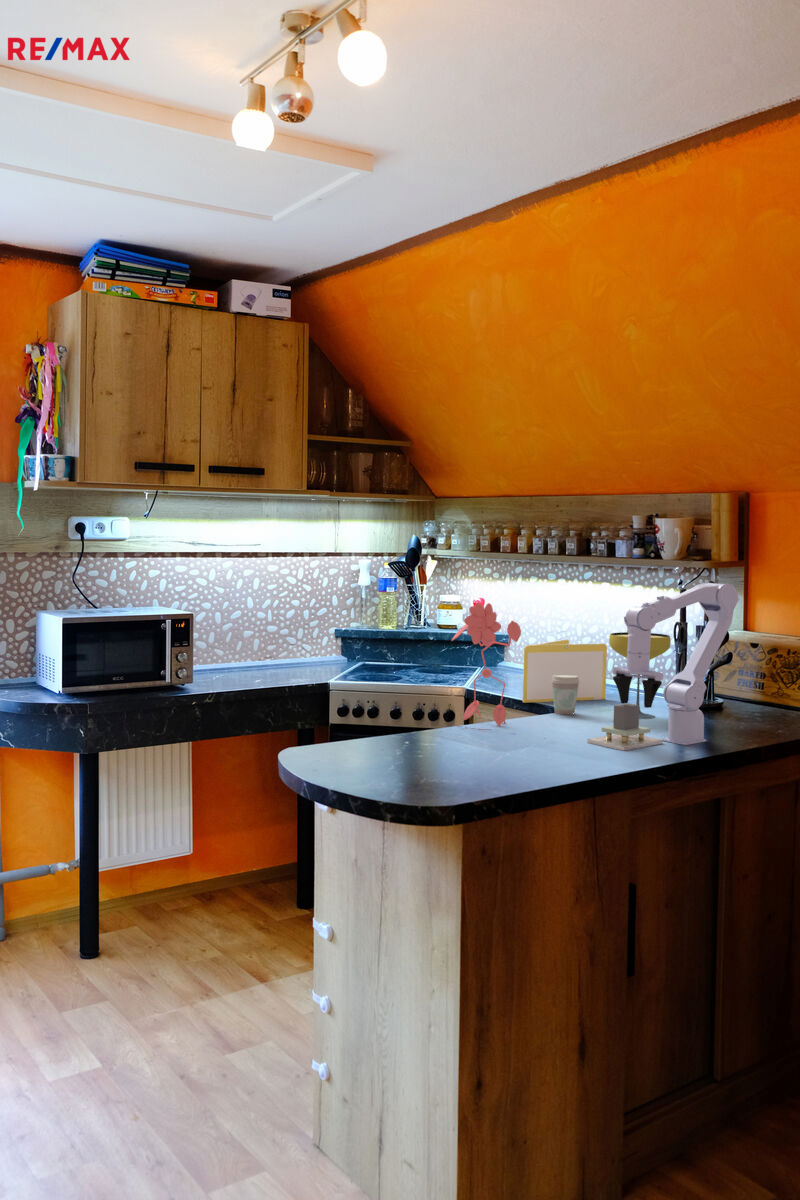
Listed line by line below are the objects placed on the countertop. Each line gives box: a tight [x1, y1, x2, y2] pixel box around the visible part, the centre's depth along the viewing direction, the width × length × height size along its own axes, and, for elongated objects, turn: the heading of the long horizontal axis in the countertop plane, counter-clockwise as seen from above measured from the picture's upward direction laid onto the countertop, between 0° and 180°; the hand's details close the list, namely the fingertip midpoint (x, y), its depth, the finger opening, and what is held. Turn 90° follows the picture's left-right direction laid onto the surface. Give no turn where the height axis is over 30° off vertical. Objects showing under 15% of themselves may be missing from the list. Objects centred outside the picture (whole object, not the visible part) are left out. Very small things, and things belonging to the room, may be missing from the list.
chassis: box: [586, 732, 664, 752], centre depth 262 cm, size 16×12×3 cm
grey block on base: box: [601, 702, 651, 736], centre depth 262 cm, size 10×8×7 cm
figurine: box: [450, 602, 522, 731], centre depth 284 cm, size 15×26×35 cm, turn 45°
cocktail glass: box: [608, 631, 672, 720], centre depth 302 cm, size 18×18×25 cm
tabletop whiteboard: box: [522, 638, 608, 704], centre depth 332 cm, size 35×22×20 cm, turn 148°
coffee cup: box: [551, 674, 580, 715], centre depth 304 cm, size 8×8×12 cm
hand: (635, 705), depth 259 cm, fingers open, 7 cm apart
